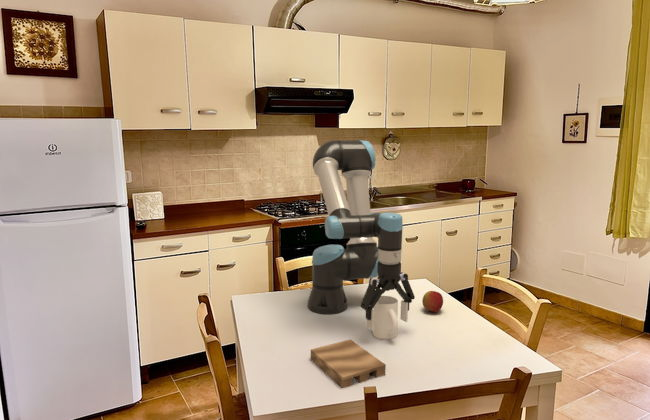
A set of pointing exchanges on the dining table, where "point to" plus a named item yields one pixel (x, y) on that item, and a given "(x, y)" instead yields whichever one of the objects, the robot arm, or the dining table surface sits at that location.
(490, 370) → the dining table surface
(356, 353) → the wooden pallet
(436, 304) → the apple
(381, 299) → the mug
